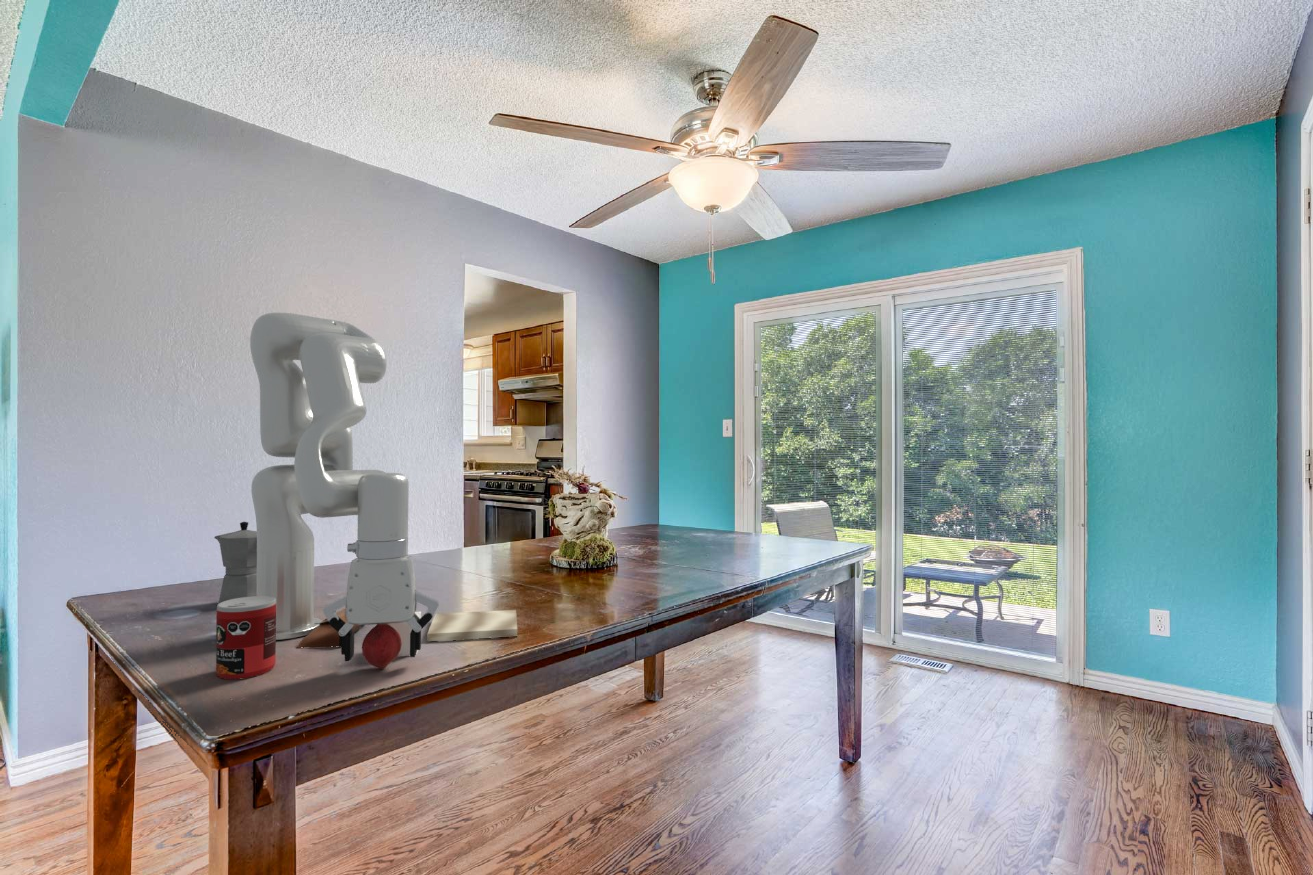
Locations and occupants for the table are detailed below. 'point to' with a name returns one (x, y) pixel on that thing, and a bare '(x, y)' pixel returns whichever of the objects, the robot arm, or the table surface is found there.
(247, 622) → the canned food
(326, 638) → the sunglasses case
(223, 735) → the table surface
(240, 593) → the coffeepot
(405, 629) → the letter cube
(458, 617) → the birch board
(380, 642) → the onion
